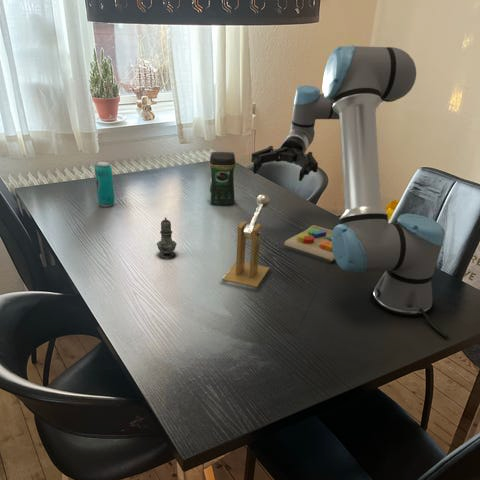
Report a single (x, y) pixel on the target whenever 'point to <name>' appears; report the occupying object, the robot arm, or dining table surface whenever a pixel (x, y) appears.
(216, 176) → the coffee jar
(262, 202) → the tap lever
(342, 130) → the robot arm
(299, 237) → the puzzle board
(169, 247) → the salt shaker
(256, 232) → the wooden lever stand
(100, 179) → the beverage can
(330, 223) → the dining table surface
